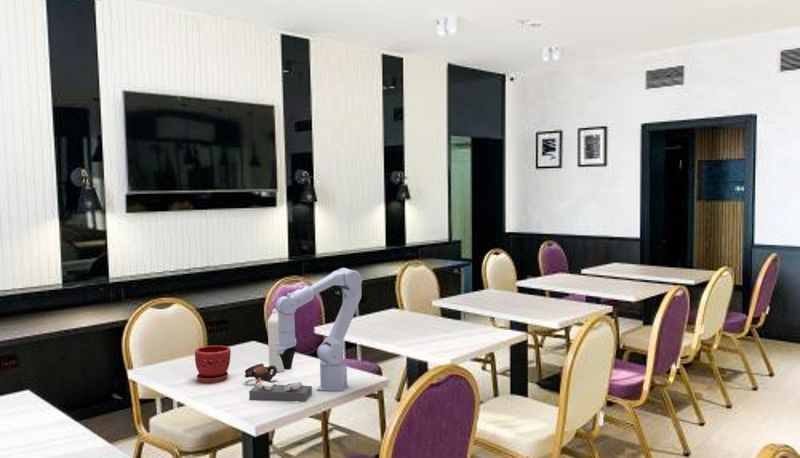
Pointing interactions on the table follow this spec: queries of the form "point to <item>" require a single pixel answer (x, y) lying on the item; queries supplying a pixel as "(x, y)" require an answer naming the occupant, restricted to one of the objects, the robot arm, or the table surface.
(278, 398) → the power strip
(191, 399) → the table surface
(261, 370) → the pottery mug
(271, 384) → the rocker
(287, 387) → the block
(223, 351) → the plant pot
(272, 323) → the water bottle
